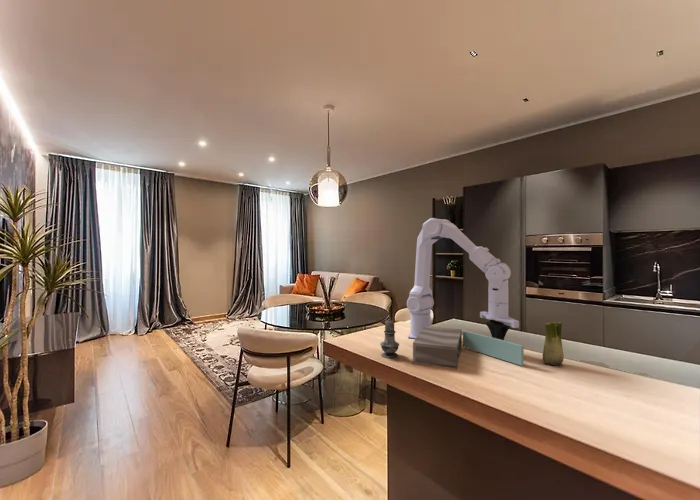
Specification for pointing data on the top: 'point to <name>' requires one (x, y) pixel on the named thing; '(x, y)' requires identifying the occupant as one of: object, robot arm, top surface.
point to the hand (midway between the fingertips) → (498, 345)
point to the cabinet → (438, 347)
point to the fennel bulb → (553, 344)
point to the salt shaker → (389, 341)
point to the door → (494, 347)
